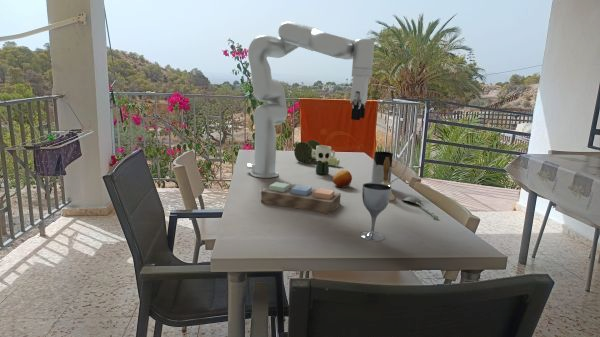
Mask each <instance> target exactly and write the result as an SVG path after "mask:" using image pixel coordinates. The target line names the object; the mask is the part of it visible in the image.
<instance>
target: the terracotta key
mask: <svg viewBox="0 0 600 337" xmlns="http://www.w3.org/2000/svg"><path fill="white" fill-rule="evenodd" d="M315 190H316V191H315V192H314V197H317V198H323V199H330V200H331V199H332V198H333V197H334V192H335V190H333V189H326V188H320V187H319V188H317V189H315Z"/></svg>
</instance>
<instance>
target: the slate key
mask: <svg viewBox="0 0 600 337" xmlns="http://www.w3.org/2000/svg"><path fill="white" fill-rule="evenodd" d="M312 189H313V187H312V186H306V185H301V184H300V185H299V184H297V185H295V187H293V188H292V189H291V194H298V195H304V196H308V195H309V194H310V193H311V191H312Z"/></svg>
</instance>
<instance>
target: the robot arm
mask: <svg viewBox="0 0 600 337" xmlns="http://www.w3.org/2000/svg"><path fill="white" fill-rule="evenodd" d="M277 31H278V33H277V34H278V36H279V37H276V36H272V35H269V34H268V35H267V34H262V35H258V36H256V37H254V38H253V39H252V40H251V42H250V44H249V46H248V51H247V56H248V61H249V62H248V64H249V67H250V74H251V82H252V90H253V95H254V98H255V99H256V101H257V100H258V101H259V102H267V103H264V104H263V103H262V104H261V105H258V106H257V107H256V108H255V109H254V112H253V114H252V116H253V124H254V125H253V126H254V156H253V157H254V159H253V161H254V162H253V164H252V163H247V164H246V169H250V170H251V171H250V175H251V176H252V177H255V178H262V179H263V178H264V179H269V178H270V179H271V178H272V179H273V178H276V177H278V176H279V172H278V171H277V170H276V162H277V161H276V160H277V159H276V158H277V131H276V128H275V126H278V125H282V124H283V123H284V122H286V120H287V118H288V107H287V106H288V105H287V99H286V92H285V91H286V90H285V88H284V86H283V84H282V82H280V81H279V80H278V79H273V77H272V70H271V66H270V63H269V62H268V57H269V58H275V59H279V58H283V57H285V56H287V55H289V54H290V53H292V52H294V51H295V50H296V49H298V48H303V49H305V50H308V51H312V52H313V51H314V52H316V53H319V54H323V55H326V56H329V57H332V58H336V59H341V60H352V66H351V67H352V68H351V78H352V81H351V82H352V83H351V91H350V99H349V102H350V104H352V109H351V116H350V118H351V120H352V121H360V119H364V118H365V114H366V103H367V100H368V91H369V80H370V78H372V76H373V65H374V53H375V41H374V40H373V39H370V38H357V39H356V40H355V39H349V38H346V37H342V36H338V35H336V34H331V33H327V32H324V31H321V30H319V29H318V28H315V27H312V26H309V25H305V24H301V23H297V22H294V21H285V22H282V23H281V24H280V26H279V28H278V30H277Z"/></svg>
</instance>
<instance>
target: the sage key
mask: <svg viewBox="0 0 600 337" xmlns="http://www.w3.org/2000/svg"><path fill="white" fill-rule="evenodd" d="M290 186H291V184H290V183H286V182H285V183H284V182H279V181H275V182H273V183H272V184H270V185H269V187H270V188H269V190H272V191H279V192H286V191H288V190H289V189H290Z"/></svg>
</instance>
